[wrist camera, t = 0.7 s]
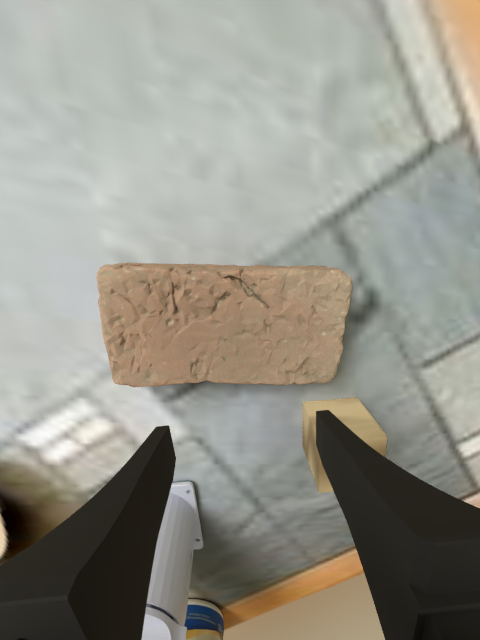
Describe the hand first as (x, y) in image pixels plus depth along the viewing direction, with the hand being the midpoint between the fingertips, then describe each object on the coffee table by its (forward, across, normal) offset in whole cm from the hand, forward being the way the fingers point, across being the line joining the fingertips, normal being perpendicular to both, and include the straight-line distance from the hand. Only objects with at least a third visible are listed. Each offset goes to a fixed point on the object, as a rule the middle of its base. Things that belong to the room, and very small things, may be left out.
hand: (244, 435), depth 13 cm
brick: (+10, 0, -3) cm, 11 cm away
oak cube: (+10, -8, +8) cm, 15 cm away
